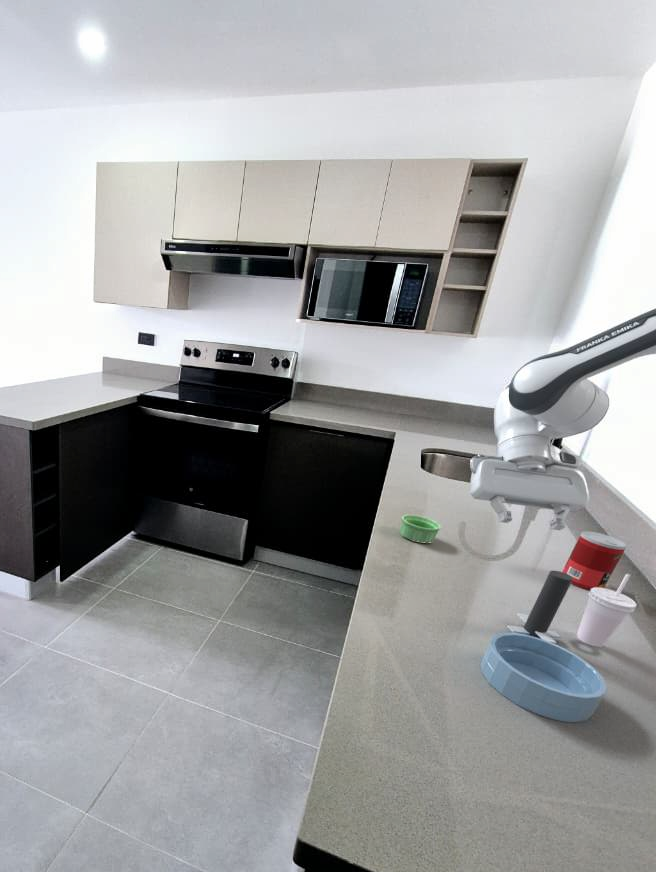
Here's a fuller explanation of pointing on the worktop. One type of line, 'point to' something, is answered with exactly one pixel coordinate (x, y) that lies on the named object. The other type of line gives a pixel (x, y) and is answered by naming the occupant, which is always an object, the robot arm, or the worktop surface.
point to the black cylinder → (545, 608)
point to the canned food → (593, 559)
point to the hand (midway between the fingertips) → (531, 525)
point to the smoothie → (604, 614)
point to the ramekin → (419, 528)
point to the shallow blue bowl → (542, 677)
